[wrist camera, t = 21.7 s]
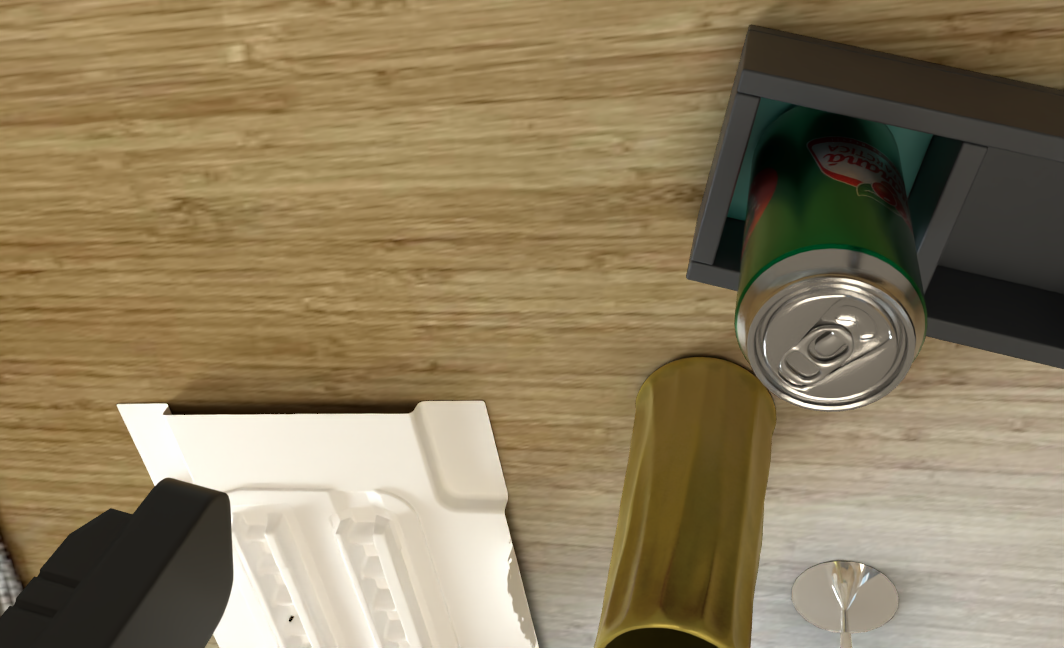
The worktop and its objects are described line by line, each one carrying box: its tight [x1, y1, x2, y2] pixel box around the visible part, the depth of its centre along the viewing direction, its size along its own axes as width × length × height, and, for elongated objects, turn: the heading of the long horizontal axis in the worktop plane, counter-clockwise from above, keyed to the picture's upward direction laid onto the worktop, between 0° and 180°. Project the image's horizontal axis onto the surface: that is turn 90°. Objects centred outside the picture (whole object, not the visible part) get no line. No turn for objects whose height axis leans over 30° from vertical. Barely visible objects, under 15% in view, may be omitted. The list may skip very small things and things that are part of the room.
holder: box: [686, 25, 1064, 369], centre depth 35 cm, size 8×15×5 cm, turn 82°
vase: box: [594, 357, 776, 648], centre depth 39 cm, size 6×6×14 cm
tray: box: [117, 401, 539, 648], centre depth 56 cm, size 20×28×4 cm
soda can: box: [734, 105, 928, 412], centre depth 32 cm, size 5×5×12 cm
